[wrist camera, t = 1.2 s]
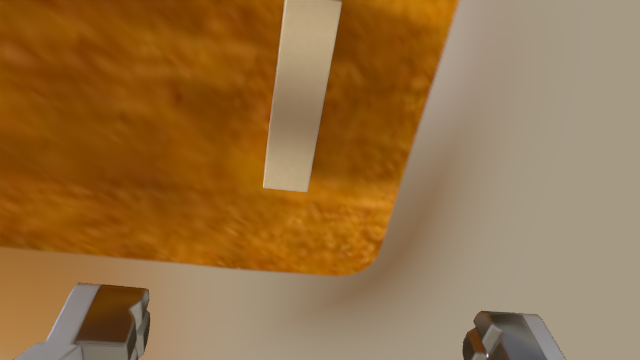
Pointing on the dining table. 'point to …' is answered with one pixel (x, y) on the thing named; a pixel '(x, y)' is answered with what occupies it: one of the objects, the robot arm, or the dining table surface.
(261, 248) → the dining table surface
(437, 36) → the dining table surface
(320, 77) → the beige rectangular block
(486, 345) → the robot arm
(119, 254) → the dining table surface
